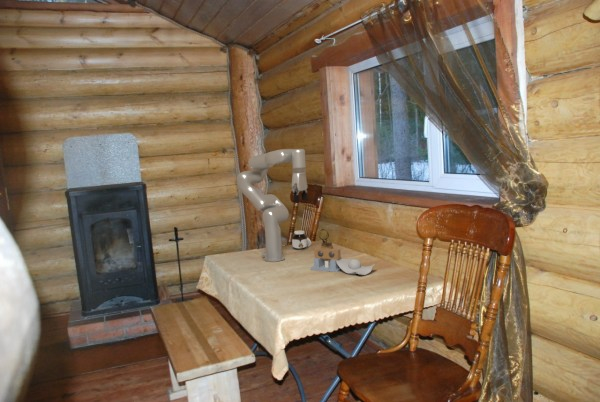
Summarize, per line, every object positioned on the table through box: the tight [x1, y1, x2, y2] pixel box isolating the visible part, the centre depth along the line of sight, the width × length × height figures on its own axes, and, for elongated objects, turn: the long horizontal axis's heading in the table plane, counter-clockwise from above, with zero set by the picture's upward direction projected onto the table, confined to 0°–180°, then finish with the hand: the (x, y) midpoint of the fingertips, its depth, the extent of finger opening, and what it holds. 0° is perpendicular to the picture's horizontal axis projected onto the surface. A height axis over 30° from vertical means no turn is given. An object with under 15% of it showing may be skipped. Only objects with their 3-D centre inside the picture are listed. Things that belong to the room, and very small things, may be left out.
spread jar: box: [291, 230, 312, 251], centre depth 316 cm, size 12×11×12 cm
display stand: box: [310, 257, 343, 273], centre depth 259 cm, size 16×10×6 cm, turn 62°
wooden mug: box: [318, 228, 334, 261], centre depth 276 cm, size 9×14×18 cm, turn 11°
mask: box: [336, 258, 376, 276], centre depth 250 cm, size 20×8×15 cm
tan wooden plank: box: [313, 247, 342, 260], centre depth 258 cm, size 14×4×5 cm, turn 62°
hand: (300, 201), depth 269 cm, fingers open, 9 cm apart
